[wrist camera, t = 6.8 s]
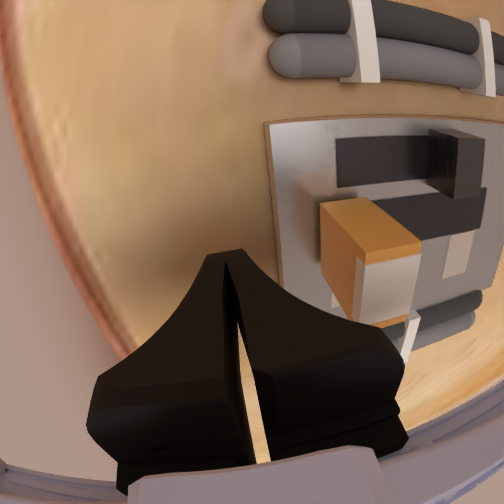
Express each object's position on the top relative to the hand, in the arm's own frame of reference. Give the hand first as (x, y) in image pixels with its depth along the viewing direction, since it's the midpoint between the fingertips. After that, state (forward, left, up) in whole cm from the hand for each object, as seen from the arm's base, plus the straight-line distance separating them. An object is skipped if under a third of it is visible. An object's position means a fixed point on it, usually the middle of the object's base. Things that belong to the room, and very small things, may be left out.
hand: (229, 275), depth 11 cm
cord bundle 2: (-10, +8, -3) cm, 13 cm away
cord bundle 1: (-10, -8, -3) cm, 13 cm away
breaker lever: (-5, 0, -1) cm, 5 cm away
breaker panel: (-10, +1, -3) cm, 10 cm away
